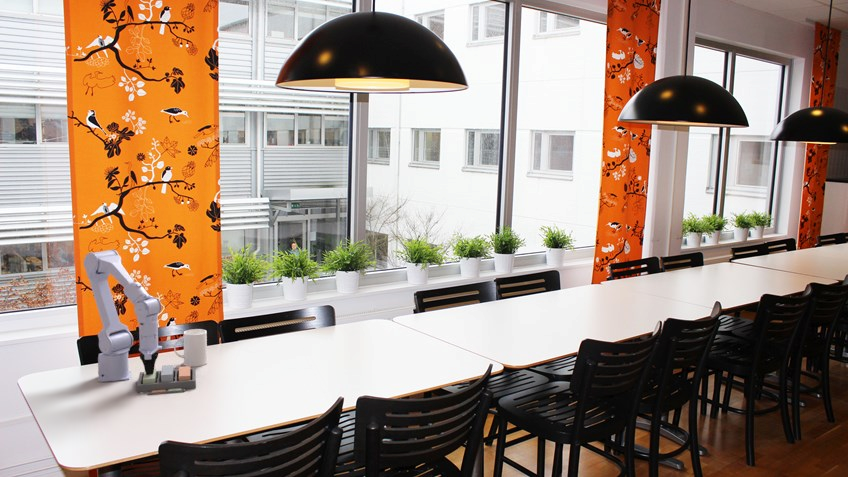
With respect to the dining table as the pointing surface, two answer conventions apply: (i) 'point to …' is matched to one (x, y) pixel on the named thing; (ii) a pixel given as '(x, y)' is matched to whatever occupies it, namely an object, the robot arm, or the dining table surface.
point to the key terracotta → (184, 373)
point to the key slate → (167, 373)
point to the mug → (194, 347)
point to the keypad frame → (166, 385)
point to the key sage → (149, 378)
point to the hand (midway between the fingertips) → (149, 374)
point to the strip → (166, 391)
